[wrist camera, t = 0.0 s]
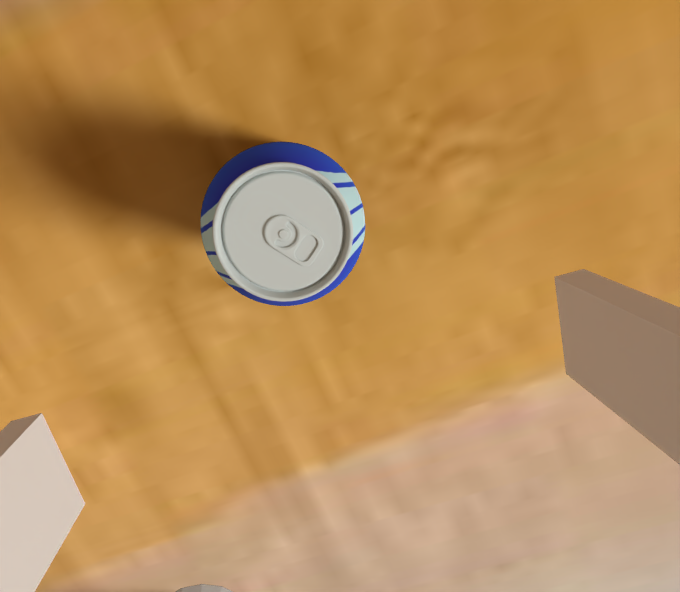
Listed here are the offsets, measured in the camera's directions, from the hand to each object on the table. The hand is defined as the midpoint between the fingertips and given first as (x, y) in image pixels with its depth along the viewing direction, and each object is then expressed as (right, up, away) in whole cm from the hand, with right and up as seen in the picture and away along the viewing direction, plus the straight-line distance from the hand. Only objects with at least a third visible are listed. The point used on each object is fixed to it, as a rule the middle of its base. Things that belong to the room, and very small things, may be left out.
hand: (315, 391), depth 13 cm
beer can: (-4, +10, +26) cm, 28 cm away
